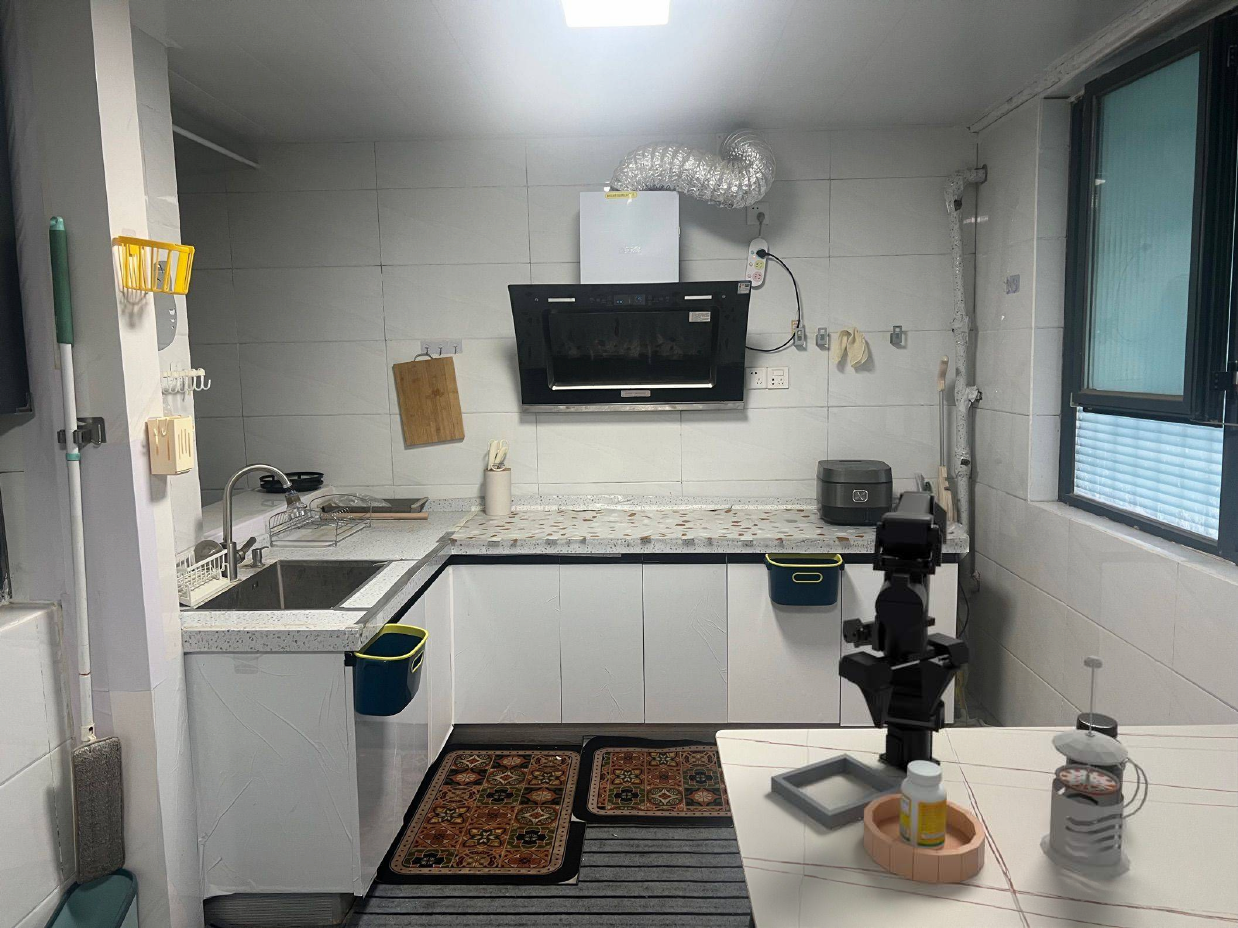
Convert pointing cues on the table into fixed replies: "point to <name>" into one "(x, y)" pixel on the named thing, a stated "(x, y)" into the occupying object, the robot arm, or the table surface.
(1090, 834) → the french press
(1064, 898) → the table surface
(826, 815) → the open rectangular frame
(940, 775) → the supplement bottle
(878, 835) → the bowl
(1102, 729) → the supplement bottle
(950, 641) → the robot arm
